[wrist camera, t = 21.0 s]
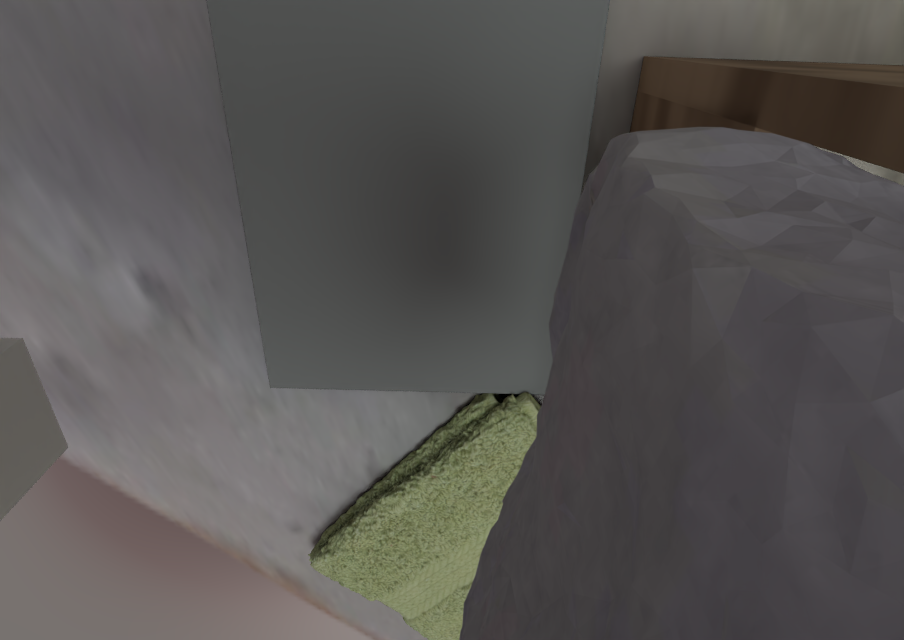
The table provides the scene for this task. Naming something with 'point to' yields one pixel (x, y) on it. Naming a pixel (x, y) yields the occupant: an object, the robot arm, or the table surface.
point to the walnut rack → (780, 102)
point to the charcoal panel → (408, 182)
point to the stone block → (714, 406)
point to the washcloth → (432, 516)
